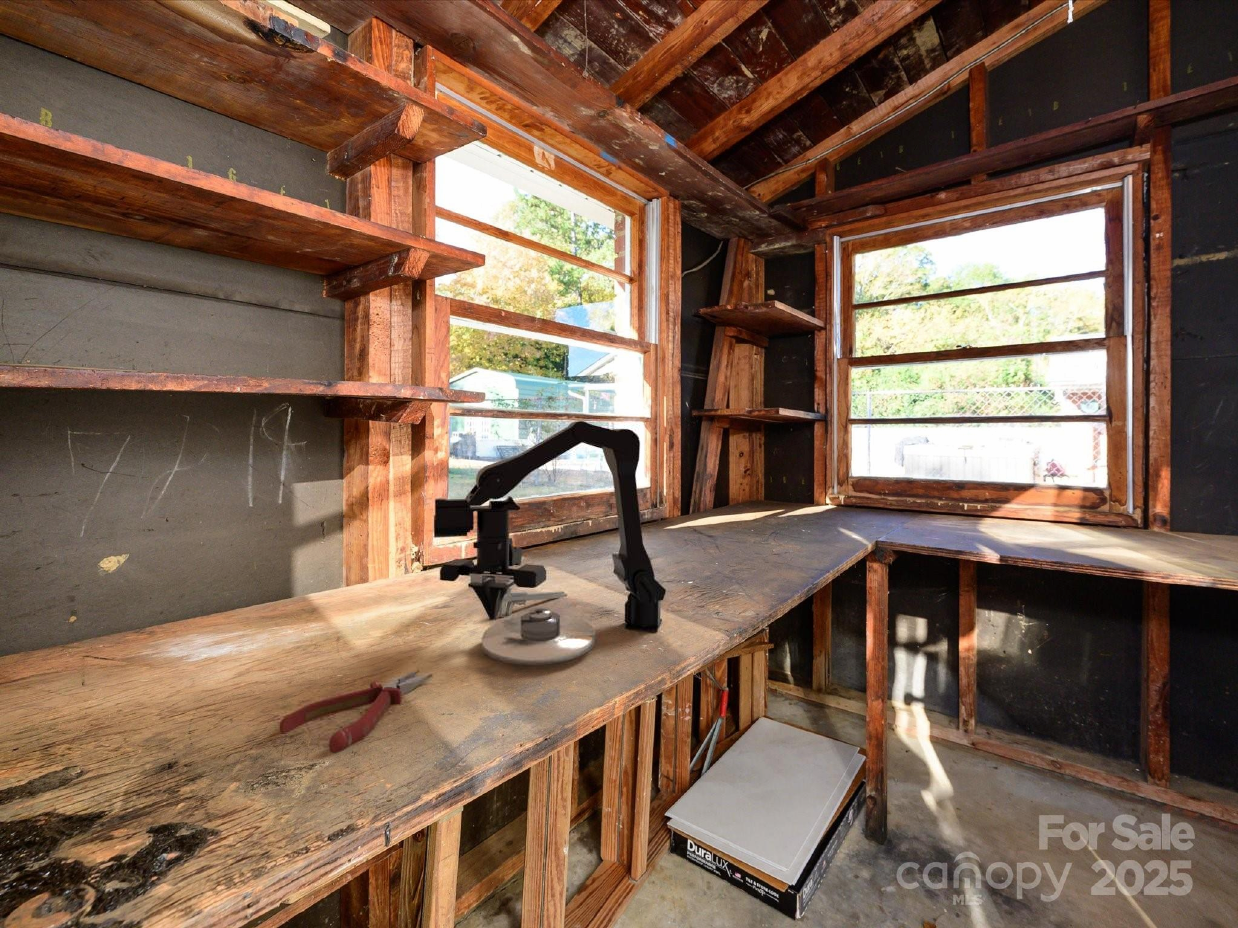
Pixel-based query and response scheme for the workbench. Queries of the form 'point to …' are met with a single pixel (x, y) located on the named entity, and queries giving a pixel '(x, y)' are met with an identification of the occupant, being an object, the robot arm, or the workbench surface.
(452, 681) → the workbench surface
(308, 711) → the pliers
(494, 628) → the turntable
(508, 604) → the caliper
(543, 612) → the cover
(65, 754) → the workbench surface
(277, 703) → the workbench surface
